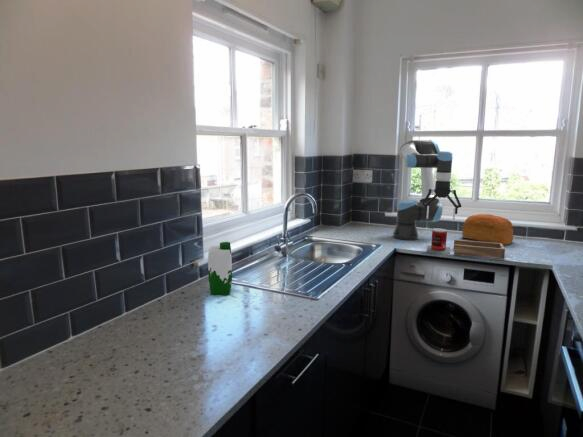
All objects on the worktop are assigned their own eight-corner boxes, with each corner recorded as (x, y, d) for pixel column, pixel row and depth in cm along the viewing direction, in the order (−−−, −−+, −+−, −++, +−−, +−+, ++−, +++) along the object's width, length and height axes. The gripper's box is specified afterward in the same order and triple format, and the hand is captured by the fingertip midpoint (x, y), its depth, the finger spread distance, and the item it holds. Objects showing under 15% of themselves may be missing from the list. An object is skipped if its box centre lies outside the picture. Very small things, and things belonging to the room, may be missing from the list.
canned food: (443, 247, 232) (445, 228, 230) (447, 251, 224) (448, 231, 222) (429, 247, 233) (430, 228, 231) (432, 250, 225) (434, 231, 223)
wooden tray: (453, 248, 232) (454, 239, 231) (501, 252, 224) (501, 243, 223) (453, 254, 220) (454, 245, 219) (504, 258, 211) (505, 249, 210)
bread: (471, 234, 267) (473, 210, 264) (515, 242, 247) (517, 216, 244) (459, 238, 257) (461, 213, 254) (503, 246, 237) (506, 219, 234)
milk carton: (231, 296, 159) (230, 245, 155) (208, 296, 158) (206, 246, 154) (233, 288, 167) (231, 240, 164) (210, 288, 167) (208, 240, 163)
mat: (427, 245, 237) (427, 245, 237) (449, 247, 233) (449, 247, 233) (426, 251, 224) (426, 251, 224) (449, 253, 220) (450, 253, 220)
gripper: (418, 180, 222) (416, 218, 226) (468, 181, 214) (465, 221, 218) (419, 178, 229) (417, 216, 233) (467, 180, 221) (464, 219, 225)
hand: (440, 219), depth 226 cm, fingers open, 13 cm apart
